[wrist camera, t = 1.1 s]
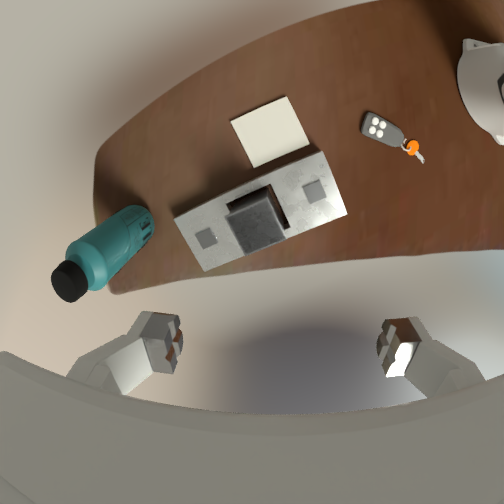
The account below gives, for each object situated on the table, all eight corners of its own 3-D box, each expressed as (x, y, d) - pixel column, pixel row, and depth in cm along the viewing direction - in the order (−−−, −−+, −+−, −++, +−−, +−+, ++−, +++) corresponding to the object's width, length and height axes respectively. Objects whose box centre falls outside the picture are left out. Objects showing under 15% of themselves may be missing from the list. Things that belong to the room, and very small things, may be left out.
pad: (286, 96, 31) (286, 96, 30) (309, 143, 33) (309, 144, 33) (230, 121, 33) (230, 121, 33) (254, 167, 35) (253, 167, 35)
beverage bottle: (118, 208, 39) (31, 267, 21) (150, 193, 38) (64, 250, 20) (134, 244, 42) (61, 318, 24) (167, 232, 41) (97, 311, 22)
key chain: (357, 134, 32) (360, 134, 31) (365, 110, 31) (369, 110, 30) (430, 171, 33) (435, 173, 32) (437, 150, 31) (442, 151, 30)
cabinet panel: (320, 150, 34) (322, 151, 31) (343, 209, 37) (347, 214, 35) (178, 215, 39) (172, 220, 37) (207, 265, 42) (203, 272, 40)
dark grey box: (268, 185, 36) (267, 198, 30) (285, 220, 38) (286, 239, 32) (233, 201, 38) (224, 217, 31) (250, 234, 40) (245, 256, 33)
